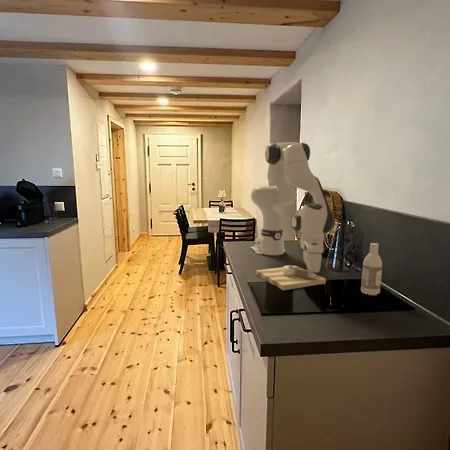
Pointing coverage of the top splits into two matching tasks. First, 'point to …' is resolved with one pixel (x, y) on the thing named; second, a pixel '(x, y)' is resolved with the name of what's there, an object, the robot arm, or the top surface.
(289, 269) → the brown and cream block
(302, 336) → the top surface
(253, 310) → the top surface
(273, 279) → the wooden cutting board
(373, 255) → the bath foam
